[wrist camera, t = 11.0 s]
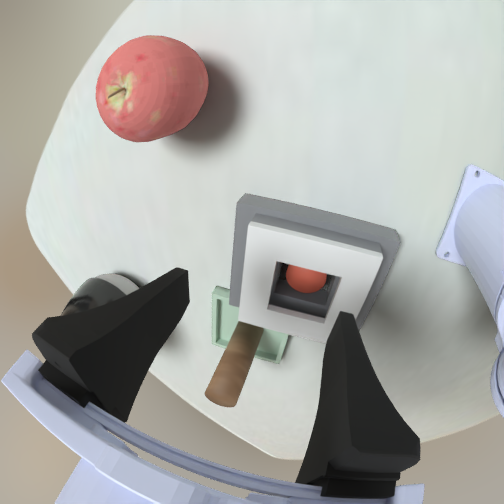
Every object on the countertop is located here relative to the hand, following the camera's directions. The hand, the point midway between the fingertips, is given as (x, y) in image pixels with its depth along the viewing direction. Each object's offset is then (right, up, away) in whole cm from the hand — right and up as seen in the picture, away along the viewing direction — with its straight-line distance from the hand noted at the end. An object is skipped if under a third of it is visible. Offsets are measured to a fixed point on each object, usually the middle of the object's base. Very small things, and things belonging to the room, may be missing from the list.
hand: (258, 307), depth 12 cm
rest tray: (0, -5, +16) cm, 17 cm away
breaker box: (+4, +1, +10) cm, 11 cm away
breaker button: (+4, +1, +10) cm, 11 cm away
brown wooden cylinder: (0, -5, +16) cm, 17 cm away
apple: (-6, +15, +6) cm, 17 cm away
